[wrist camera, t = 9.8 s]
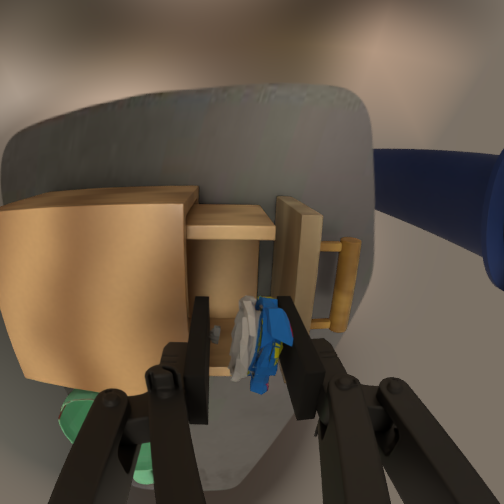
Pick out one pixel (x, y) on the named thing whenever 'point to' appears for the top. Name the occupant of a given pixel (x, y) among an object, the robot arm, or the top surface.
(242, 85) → the top surface
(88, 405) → the mug
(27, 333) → the cabinet
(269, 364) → the toy
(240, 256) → the drawer
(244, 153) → the top surface
